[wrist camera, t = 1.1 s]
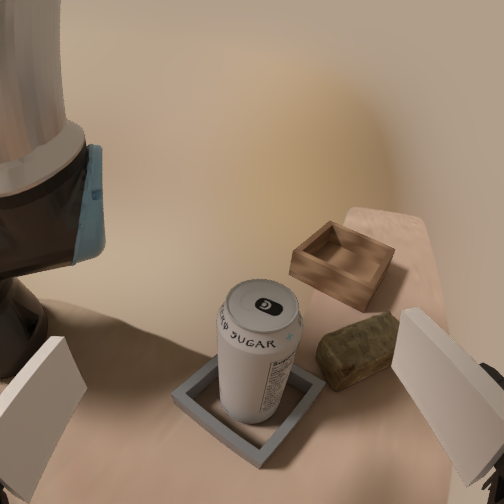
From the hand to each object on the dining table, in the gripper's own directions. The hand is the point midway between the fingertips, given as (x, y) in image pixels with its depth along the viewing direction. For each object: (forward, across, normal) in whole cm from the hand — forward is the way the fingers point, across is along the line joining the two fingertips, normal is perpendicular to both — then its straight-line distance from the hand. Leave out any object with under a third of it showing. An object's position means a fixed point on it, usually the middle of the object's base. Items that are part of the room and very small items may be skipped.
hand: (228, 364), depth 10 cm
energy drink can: (+14, 0, -16) cm, 21 cm away
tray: (+14, 0, -16) cm, 21 cm away
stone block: (+18, +13, -17) cm, 28 cm away
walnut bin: (+35, +16, -11) cm, 40 cm away
